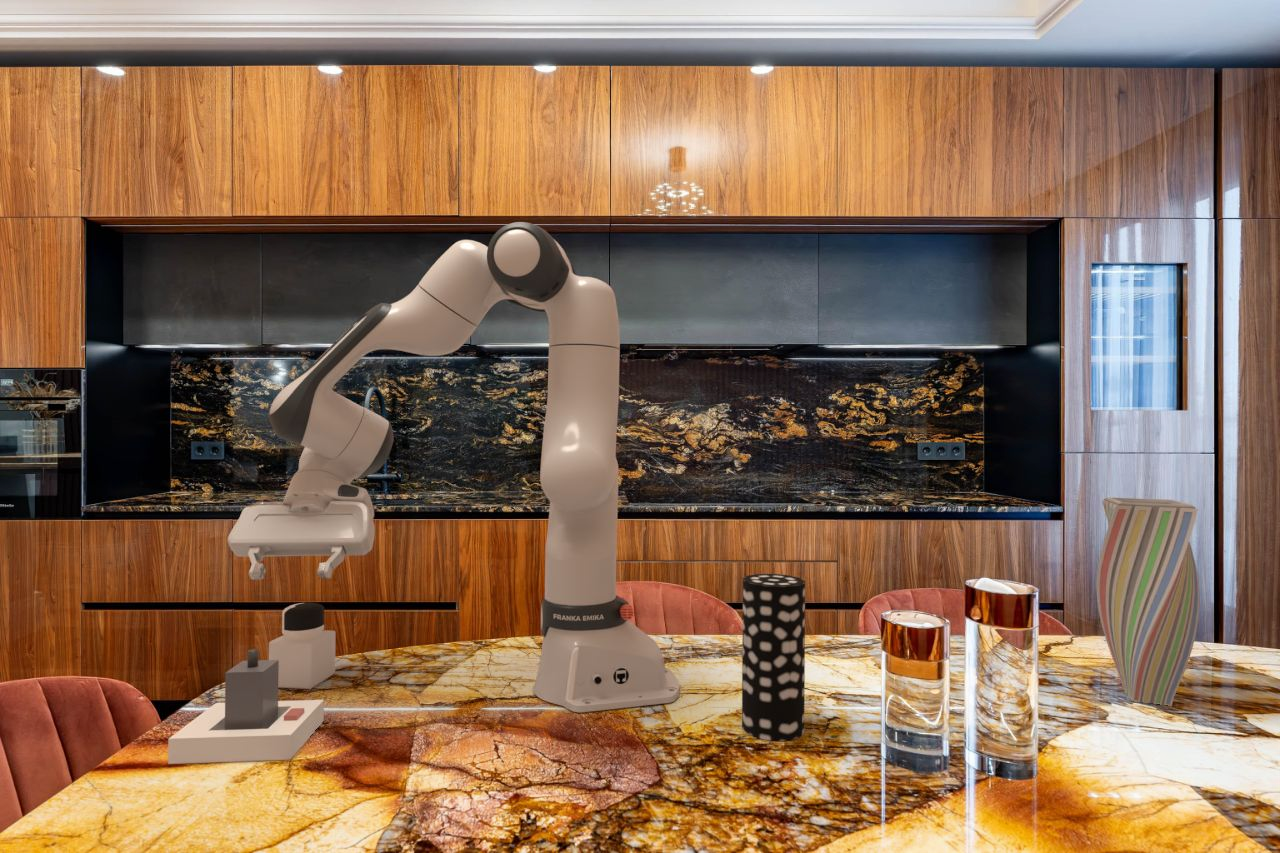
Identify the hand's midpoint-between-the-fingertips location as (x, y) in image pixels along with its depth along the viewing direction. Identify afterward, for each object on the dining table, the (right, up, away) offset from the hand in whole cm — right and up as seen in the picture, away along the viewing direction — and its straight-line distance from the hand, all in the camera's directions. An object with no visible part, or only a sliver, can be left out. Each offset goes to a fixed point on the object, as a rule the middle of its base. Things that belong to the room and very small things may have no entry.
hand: (289, 576), depth 100 cm
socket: (+1, -19, -11) cm, 22 cm away
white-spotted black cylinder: (+69, -19, -6) cm, 72 cm away
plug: (+1, -18, -11) cm, 21 cm away
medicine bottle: (-3, -19, +10) cm, 22 cm away
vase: (+128, -20, +5) cm, 129 cm away
